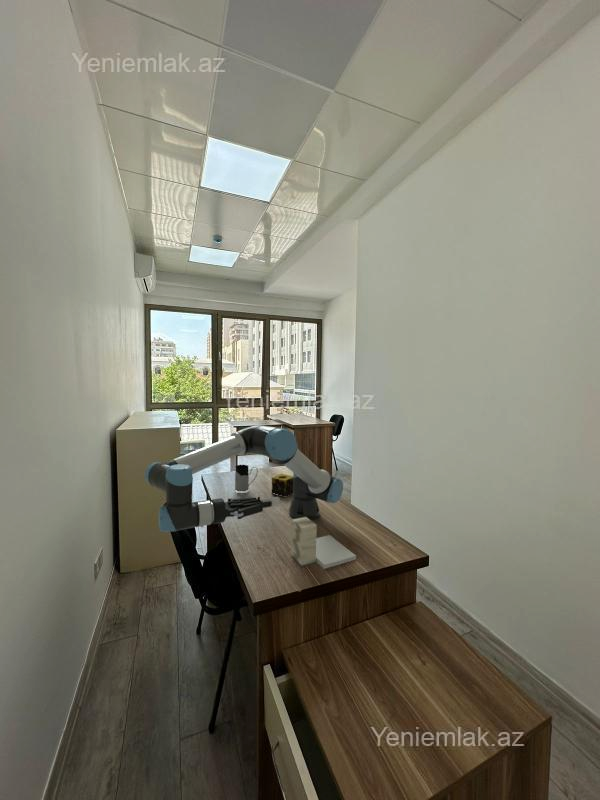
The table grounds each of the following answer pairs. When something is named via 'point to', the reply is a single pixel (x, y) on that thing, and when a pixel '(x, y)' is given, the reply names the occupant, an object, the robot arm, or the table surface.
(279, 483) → the candle
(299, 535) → the birch block
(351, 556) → the pad
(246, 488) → the glass mug
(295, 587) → the table surface
